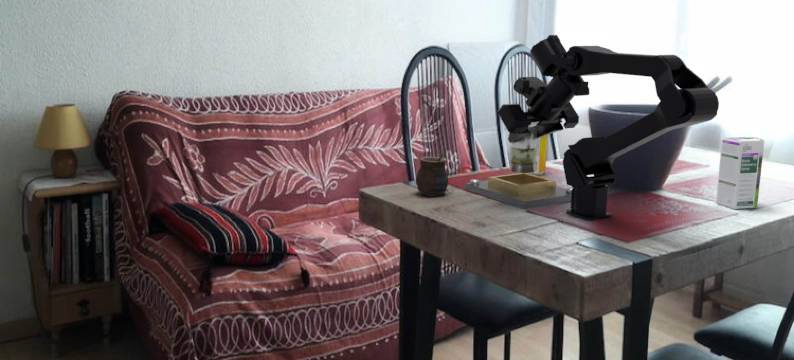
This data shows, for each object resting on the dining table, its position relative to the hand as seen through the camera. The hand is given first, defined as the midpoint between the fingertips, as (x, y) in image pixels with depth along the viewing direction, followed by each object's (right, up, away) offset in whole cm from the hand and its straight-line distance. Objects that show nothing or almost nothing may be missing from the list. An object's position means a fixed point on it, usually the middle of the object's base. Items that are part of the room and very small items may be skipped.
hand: (519, 140), depth 152 cm
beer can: (+8, -7, +24) cm, 26 cm away
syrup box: (+44, -14, -7) cm, 47 cm away
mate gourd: (-19, -12, +1) cm, 23 cm away
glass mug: (0, -6, +1) cm, 7 cm away
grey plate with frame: (+1, -12, +2) cm, 12 cm away
